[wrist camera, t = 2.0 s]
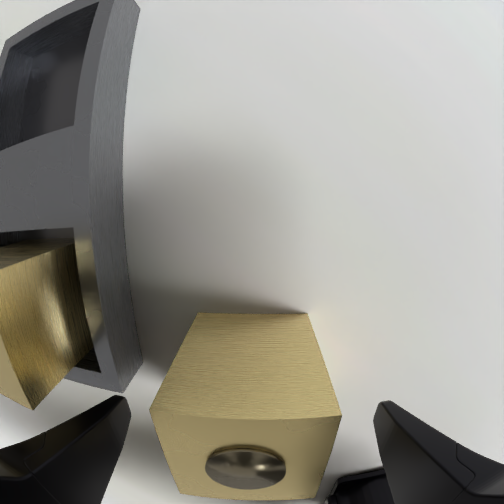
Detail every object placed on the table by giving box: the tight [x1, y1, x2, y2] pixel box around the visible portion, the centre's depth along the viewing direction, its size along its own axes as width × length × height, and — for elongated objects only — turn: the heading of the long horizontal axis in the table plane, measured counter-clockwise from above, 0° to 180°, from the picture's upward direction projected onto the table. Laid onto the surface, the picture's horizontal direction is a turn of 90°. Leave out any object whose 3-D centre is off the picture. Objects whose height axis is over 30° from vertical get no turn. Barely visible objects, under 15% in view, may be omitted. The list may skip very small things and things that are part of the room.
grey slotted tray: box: [0, 0, 143, 393], centre depth 9 cm, size 8×17×2 cm, turn 0°
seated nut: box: [0, 238, 94, 410], centre depth 8 cm, size 4×4×6 cm
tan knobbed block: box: [149, 313, 342, 500], centre depth 9 cm, size 4×4×6 cm
